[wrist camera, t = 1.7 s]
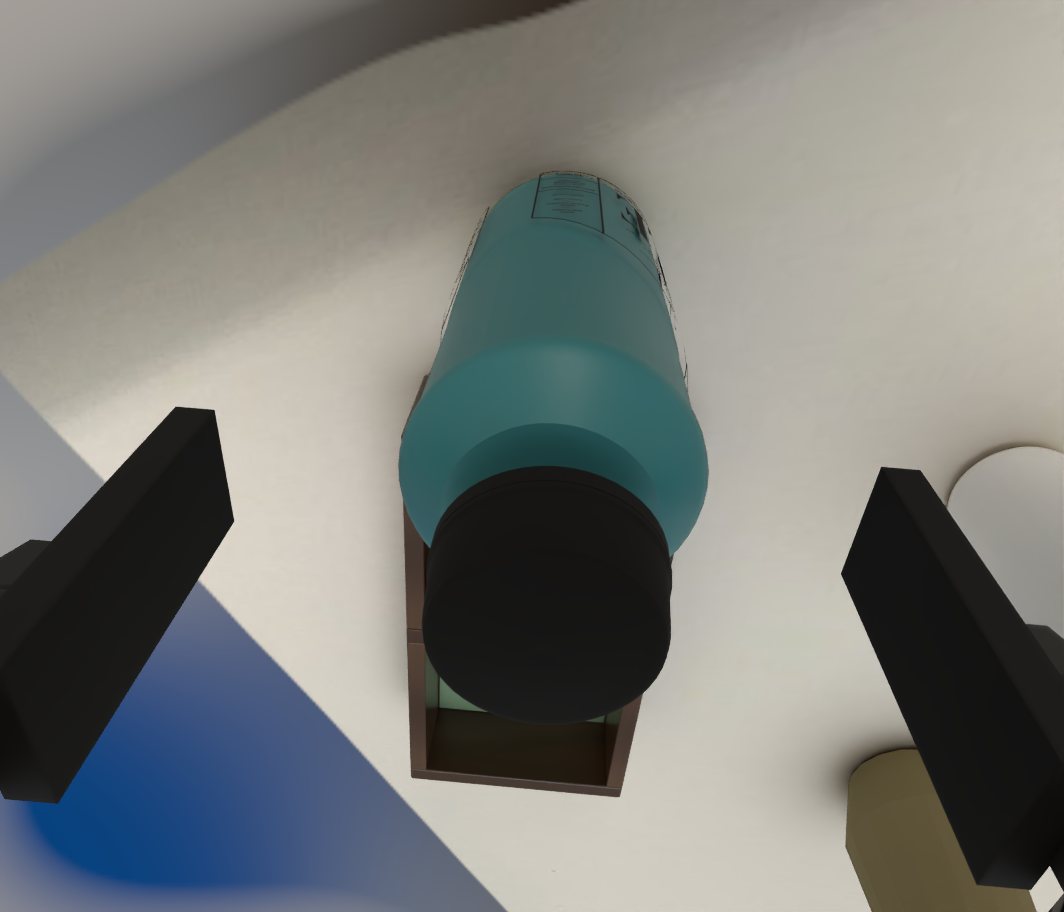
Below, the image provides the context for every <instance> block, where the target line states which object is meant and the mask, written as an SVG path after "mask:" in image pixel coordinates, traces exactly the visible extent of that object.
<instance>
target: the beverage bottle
mask: <svg viewBox="0 0 1064 912" xmlns="http://www.w3.org/2000/svg"><path fill="white" fill-rule="evenodd" d="M552 172H557V171H552ZM569 172H573V171H569ZM546 173H549V172H546ZM578 173H581V172H578ZM542 174H544V173H542ZM542 174H540V175H539V178H535V179H532V180H530V181H528V182H525V183H523V184H521V185H520V186H518V187H516V188H515V189H513V190H511V191H510V192H509V193H508V194H506V195H505V196H504V197H503V198H502V199H501V200H500V201H499V202H498V203H497V204H496V205H495V206H494V207H493V209H492V210H491V211H490V213H489V214H488V216H487V217H486V216H485V218H486V219H484V221H483V224H482V227H481V228H480V231H479V234H478V237H477V239H476V242H475V245H474V248H473V251H472V253H471V256H470V259H469V256H468V259H467V260H468V265H467V267H466V270H465V273H464V276H463V279H462V281H461V284H460V287H459V290H458V293H457V295H456V298H455V301H454V304H453V307H452V311H451V314H450V317H449V321H448V325H447V328H446V331H445V334H444V336H443V339H442V342H441V344H440V347H439V350H438V353H437V355H436V358H435V361H434V364H433V366H432V369H431V372H430V375H429V377H428V380H427V383H426V385H425V388H424V391H423V394H422V396H421V399H420V400H419V402H418V404H417V405H416V407H415V408H414V410H413V412H412V414H411V416H410V419H409V421H408V424H407V426H406V429H405V431H404V434H403V438H402V442H401V446H400V453H399V462H398V468H399V482H400V487H401V492H402V497H403V500H404V503H405V506H406V509H407V512H408V515H409V517H410V518H411V520H412V522H413V524H414V526H415V528H416V530H417V531H418V533H419V534H420V536H421V537H422V539H423V541H424V542H425V543H426V544H427V545H428V546H429V547H430V550H429V554H428V560H427V569H426V578H427V587H426V593H425V600H424V607H423V615H422V634H423V641H424V645H425V650H426V653H427V656H428V658H429V660H430V663H431V664H432V666H433V668H434V669H435V671H436V672H437V674H438V675H439V676H440V677H441V679H442V680H443V681H444V682H445V683H446V684H447V685H448V686H449V687H450V688H451V689H452V691H454V692H455V693H456V694H458V695H459V696H460V697H462V698H463V699H464V700H466V701H468V702H469V703H471V704H473V705H474V706H476V707H478V708H480V709H482V710H484V711H487V712H489V713H492V714H494V715H497V716H500V717H503V718H507V719H510V720H515V721H520V722H525V723H533V724H550V725H555V724H569V723H577V722H583V721H587V720H592V719H595V718H598V717H601V716H604V715H607V714H610V713H612V712H614V711H616V710H619V709H621V708H622V707H624V706H626V705H628V704H629V703H631V702H632V701H634V700H635V699H636V698H638V697H639V696H640V695H641V694H642V693H644V692H645V691H646V690H647V689H648V688H649V687H650V685H651V684H652V683H653V682H654V681H655V679H656V678H657V676H658V675H659V673H660V671H661V670H662V668H663V665H664V663H665V660H666V658H667V653H668V650H669V645H670V640H671V618H670V595H671V590H672V569H671V562H670V557H671V556H672V555H673V554H674V553H675V552H676V551H677V550H678V549H679V547H680V546H681V545H682V543H683V542H684V541H685V539H686V538H687V537H688V535H689V534H690V532H691V530H692V528H693V527H694V525H695V523H696V521H697V519H698V516H699V514H700V511H701V509H702V506H703V504H704V500H705V495H706V491H707V485H708V472H709V471H708V459H707V451H706V446H705V442H704V438H703V434H702V431H701V428H700V426H699V423H698V421H697V418H696V416H695V414H694V412H693V410H692V407H691V404H690V400H689V396H688V389H687V388H686V384H685V380H684V379H685V376H683V373H682V369H681V365H680V361H679V353H678V348H677V344H676V340H675V336H674V331H673V328H672V324H671V320H670V319H671V318H670V316H671V315H670V316H669V313H668V309H667V305H666V302H665V298H664V294H663V291H662V290H663V289H662V285H661V280H662V279H663V278H664V282H665V284H664V285H666V281H665V277H664V274H663V270H662V267H661V264H660V260H659V257H658V259H657V260H656V261H658V260H659V262H657V263H659V264H660V268H661V271H662V274H663V278H662V279H660V278H661V277H660V275H662V274H660V273H659V274H658V273H657V271H658V270H657V269H658V267H657V269H656V266H655V262H656V261H655V262H654V258H653V254H652V251H651V247H650V246H651V245H650V244H649V240H648V237H647V233H646V231H645V228H644V225H643V221H642V219H643V218H644V217H643V218H642V217H641V216H640V215H639V213H638V212H637V211H636V209H637V208H636V209H635V208H634V207H633V206H632V205H631V204H630V203H629V202H628V201H627V200H626V199H625V198H624V197H626V196H624V197H623V196H622V195H621V194H622V193H620V194H619V193H618V192H619V191H618V190H617V191H618V192H617V191H615V190H614V189H613V188H611V187H609V186H607V185H606V184H604V183H602V182H600V180H599V179H601V178H598V177H597V180H598V181H597V180H594V179H592V178H588V177H584V176H581V175H577V174H574V175H573V174H567V173H566V174H553V175H547V176H542V177H541V175H542ZM583 174H585V173H583ZM587 175H589V174H587ZM591 176H593V175H591ZM595 177H596V176H595ZM602 180H603V179H602ZM606 182H607V181H606ZM608 183H609V182H608ZM610 184H611V183H610ZM612 185H613V184H612ZM615 187H616V186H615ZM618 189H619V188H618ZM619 190H620V189H619ZM623 193H624V192H623ZM628 200H629V199H628ZM629 201H630V200H629ZM630 202H631V201H630ZM635 205H636V204H635ZM635 205H634V206H635ZM489 207H490V206H489ZM489 207H488V208H487V209H489ZM635 207H636V206H635ZM633 208H634V209H633ZM487 209H486V210H487ZM638 209H639V208H638ZM638 209H637V210H638ZM638 211H639V210H638ZM487 212H488V210H487ZM641 213H642V212H641ZM483 214H484V213H483ZM486 215H487V213H486ZM641 215H642V214H641ZM644 220H646V219H644ZM479 222H480V220H479ZM645 222H646V221H645ZM478 224H480V223H478ZM646 224H647V223H646ZM647 225H648V224H647ZM648 227H649V226H648ZM477 229H478V228H477V227H476V231H477ZM648 230H649V228H648ZM650 232H651V230H649V233H650ZM477 233H478V232H477ZM650 234H651V233H650ZM474 235H475V234H474ZM474 235H473V236H474ZM651 236H652V235H651ZM652 237H653V236H652ZM473 238H474V237H473ZM471 241H473V240H472V239H471ZM654 244H655V243H654ZM470 245H472V243H471V244H469V246H470ZM468 248H469V247H468ZM468 250H469V249H468ZM469 251H470V250H469ZM655 251H656V250H655ZM467 253H468V251H467ZM656 254H657V252H656ZM657 255H658V254H657ZM466 257H467V256H466ZM466 257H465V258H466ZM464 260H465V259H464ZM464 260H463V262H464ZM464 263H465V262H464ZM657 263H656V264H657ZM466 264H467V262H466ZM464 265H465V264H464ZM465 266H466V265H465ZM465 266H463V267H464V269H465ZM657 266H658V265H657ZM461 268H462V267H461ZM460 270H461V269H460ZM463 271H464V270H463ZM460 272H461V271H460ZM658 272H660V271H658ZM460 274H461V273H460ZM462 274H463V273H462ZM658 275H659V276H658ZM459 276H460V277H462V275H459ZM458 278H459V277H458ZM456 280H457V279H456ZM460 280H461V278H460ZM456 282H457V281H456ZM459 282H460V281H459ZM458 285H459V284H458ZM454 286H455V285H454ZM666 286H667V285H666ZM457 288H458V286H457ZM667 288H668V287H666V289H667ZM453 290H454V289H453ZM453 290H452V291H453ZM456 290H457V289H456ZM668 292H669V290H668ZM455 293H456V292H455ZM451 295H452V294H451ZM454 296H455V295H454ZM669 296H670V294H669ZM669 298H671V297H669ZM453 299H454V297H453ZM667 299H668V298H667ZM452 301H453V300H452ZM668 301H669V300H668ZM669 303H670V302H669ZM451 304H452V303H451ZM450 307H451V305H450ZM671 307H672V306H671V304H670V309H671ZM672 309H673V308H672ZM449 310H450V308H449ZM673 310H674V309H673ZM670 311H671V310H670ZM448 312H449V311H448ZM670 314H671V313H670ZM444 315H445V314H444ZM447 315H448V314H447ZM675 317H676V316H674V318H675ZM446 318H447V316H446ZM676 320H677V319H676ZM443 321H444V320H443ZM445 321H446V319H445ZM444 323H445V322H444ZM443 326H444V325H442V329H443ZM675 330H676V328H675ZM441 335H442V331H441ZM684 351H685V350H684ZM685 359H686V357H685ZM686 369H687V362H686ZM685 375H686V371H685ZM687 384H688V373H687Z"/></svg>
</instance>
